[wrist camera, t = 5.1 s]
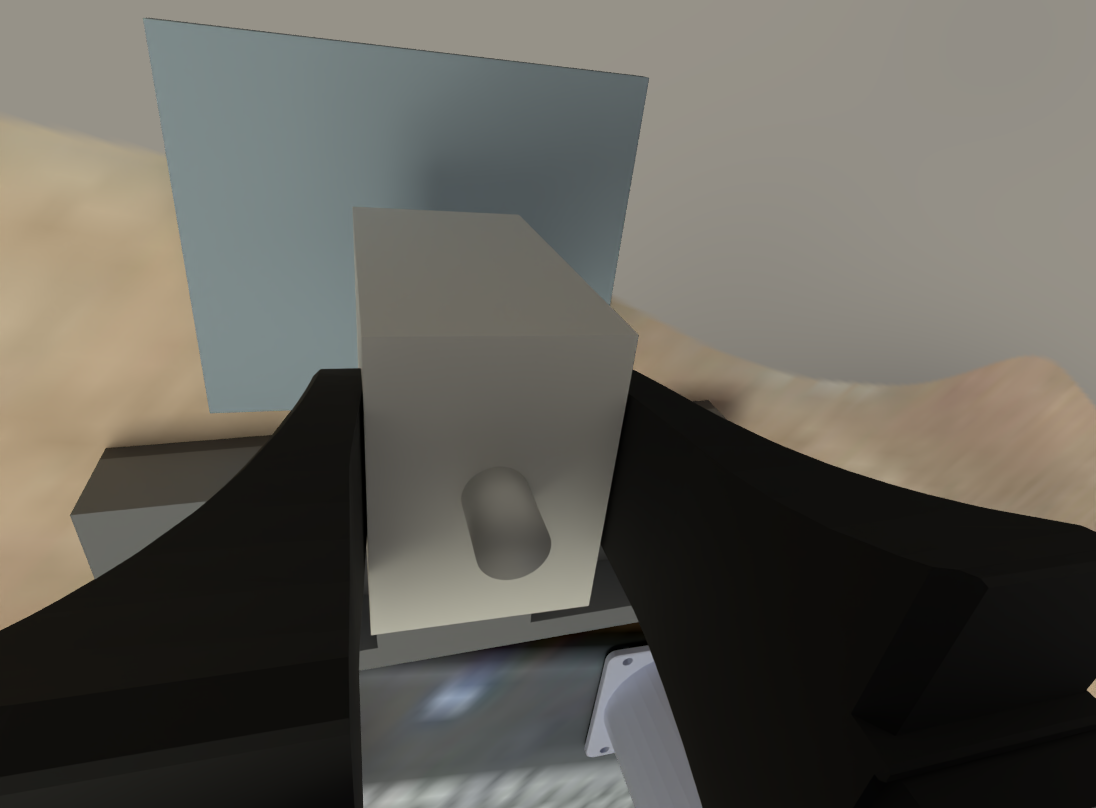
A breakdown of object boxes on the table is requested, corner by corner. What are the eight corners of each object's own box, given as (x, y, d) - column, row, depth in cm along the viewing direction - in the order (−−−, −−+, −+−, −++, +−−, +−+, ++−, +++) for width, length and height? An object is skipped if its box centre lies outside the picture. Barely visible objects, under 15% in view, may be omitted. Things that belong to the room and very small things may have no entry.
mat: (641, 76, 18) (649, 77, 17) (589, 391, 23) (593, 398, 22) (148, 17, 14) (143, 17, 14) (213, 404, 19) (209, 413, 19)
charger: (519, 214, 15) (677, 373, 8) (502, 408, 17) (613, 662, 10) (352, 206, 14) (364, 382, 7) (359, 414, 16) (374, 702, 9)
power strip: (703, 394, 25) (760, 455, 21) (668, 550, 29) (711, 622, 25) (109, 440, 20) (61, 530, 16) (168, 622, 24) (139, 725, 20)
